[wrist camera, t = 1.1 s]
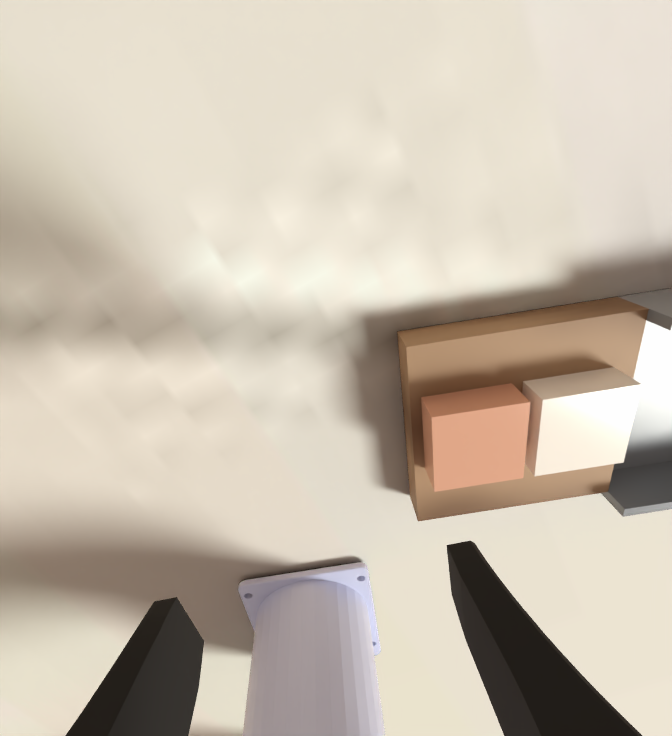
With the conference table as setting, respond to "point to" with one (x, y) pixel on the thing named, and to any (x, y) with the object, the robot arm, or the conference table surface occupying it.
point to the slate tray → (649, 417)
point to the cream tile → (579, 420)
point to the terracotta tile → (475, 436)
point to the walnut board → (513, 365)
